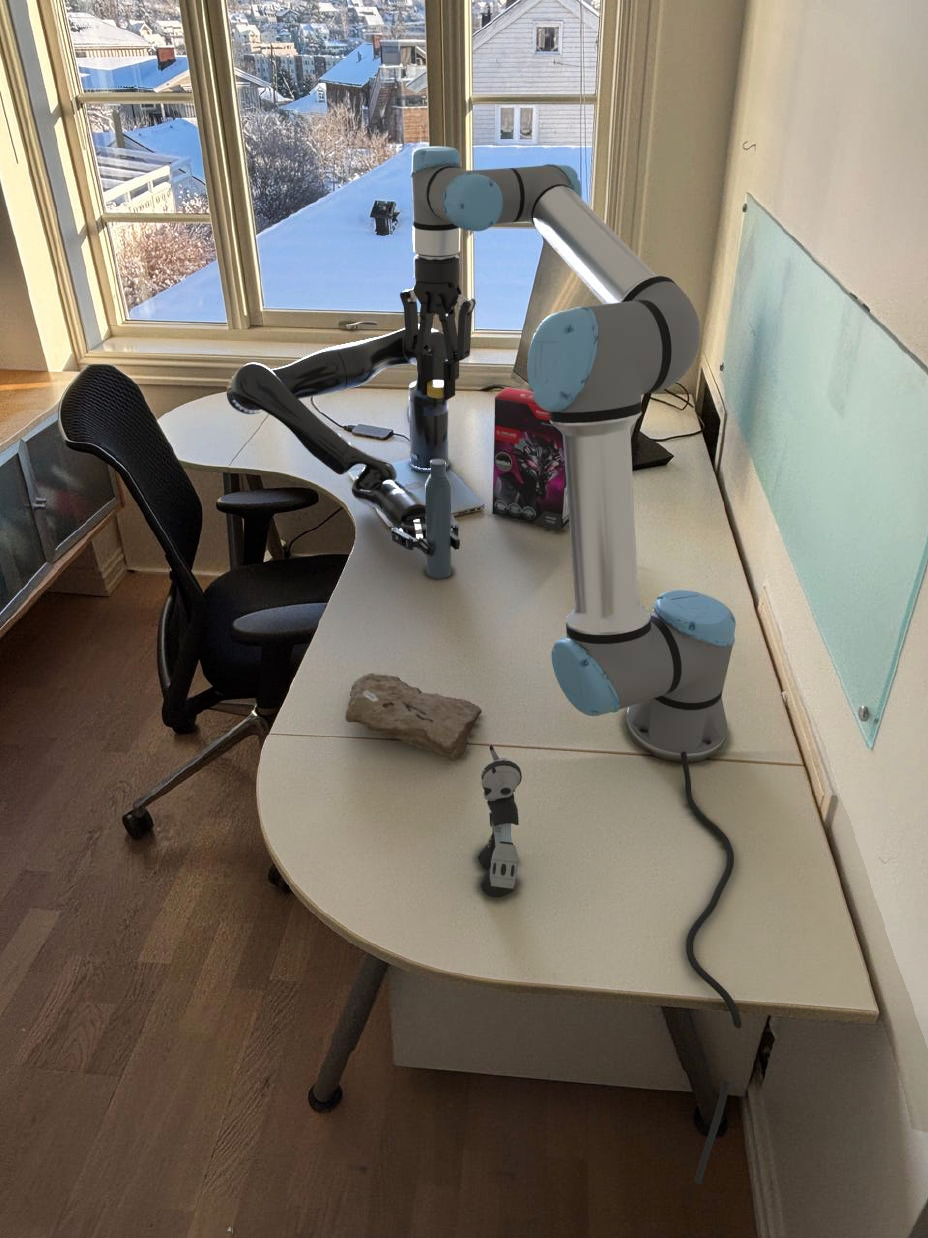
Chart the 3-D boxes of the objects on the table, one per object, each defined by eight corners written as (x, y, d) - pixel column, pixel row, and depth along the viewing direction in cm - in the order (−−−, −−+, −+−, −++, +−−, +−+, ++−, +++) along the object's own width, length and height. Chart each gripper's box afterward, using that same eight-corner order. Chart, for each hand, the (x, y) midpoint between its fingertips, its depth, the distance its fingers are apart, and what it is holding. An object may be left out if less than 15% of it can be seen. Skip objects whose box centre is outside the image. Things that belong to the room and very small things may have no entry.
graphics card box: (489, 515, 202) (492, 395, 187) (503, 502, 207) (507, 384, 192) (561, 533, 196) (570, 410, 180) (573, 519, 201) (583, 399, 186)
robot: (523, 934, 111) (531, 817, 100) (483, 936, 111) (487, 818, 100) (509, 815, 128) (514, 703, 117) (474, 816, 127) (476, 704, 116)
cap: (428, 398, 160) (428, 388, 159) (425, 390, 163) (425, 380, 162) (451, 397, 160) (451, 386, 159) (447, 389, 163) (447, 379, 162)
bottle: (434, 563, 185) (432, 454, 172) (455, 569, 183) (455, 459, 170) (422, 574, 181) (419, 463, 168) (443, 581, 179) (443, 469, 166)
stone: (319, 730, 137) (326, 695, 135) (356, 690, 151) (363, 658, 148) (450, 779, 134) (460, 744, 131) (477, 733, 147) (486, 701, 145)
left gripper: (373, 503, 184) (411, 540, 172) (437, 488, 190) (478, 523, 177) (375, 536, 188) (412, 574, 176) (437, 521, 194) (477, 556, 182)
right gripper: (494, 255, 148) (490, 396, 161) (405, 244, 155) (408, 380, 168) (471, 265, 142) (470, 410, 155) (380, 252, 149) (386, 392, 162)
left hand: (445, 548), depth 177 cm, fingers closed on bottle, 5 cm apart
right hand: (438, 394), depth 162 cm, fingers closed on cap, 4 cm apart
